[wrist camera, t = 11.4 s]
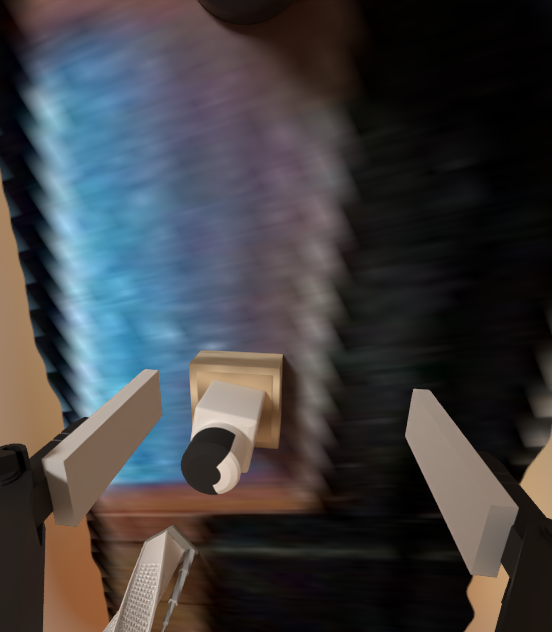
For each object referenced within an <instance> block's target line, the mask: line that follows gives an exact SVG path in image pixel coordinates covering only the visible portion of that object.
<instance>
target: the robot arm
mask: <svg viewBox="0 0 552 632" xmlns="http://www.w3.org/2000/svg"><path fill="white" fill-rule="evenodd" d="M198 1H199V2H200V3H201V4H202V5H203V6H204V7H205V8H206V9H207V10H208V11H209V12H211V13H212V14H213V15H215V16H217V17H218V18H220V19H222V20H225V21H228V22H231V23H236V24H253V23H258V22H262V21H264V20H267V19H269V18H271V17H273V16H275V15H276V14H278V13H279V12H281V11H282V10H283V9H284V8H286V7H287V6H288V5H289V4H290V3H291V2H292V0H198ZM161 416H162V406H161V394H160V382H159V370H148V369H144V370H143V371H142V372H141V373H140V374H139V375H138V376H136V377H135V378H134V379H133V380H132V381H131V382H129V383H128V384H127V385H126V386H125V387H124V388H123V389H121V390H120V391H119V392H118V393H117V394H116V395H115V396H113V397H112V398H111V399H110V400H109V401H108V402H107V403H105V404H104V405H103V406H102V407H101V408H100V409H98V410H97V411H96V412H95V413H94V414H93V415H92V416H90V417H83V418H82V419H80V420H78V421H76V422H74V423H72V424H70V425H69V426H68V427H67V428H66V429H64V430H63V431H62V432H61V434H59V435H57V436H56V437H55V438H54V439H53V441H50V442H49V443H48V444H47V445H46V446H44V447H43V448H42V449H40V450H39V451H38V452H37V453H36V454H34V455H33V456H32V457H31V458H30V459H29V457H28V452H27V448H26V446H25V445H23V444H9V445H4V446H1V447H0V632H43V604H44V567H45V565H44V564H45V530H46V529H45V524H44V521H45V519H46V518H47V517H48V516H49V515H50V514H51V513H52V512H53V514H54V518H55V523H56V524H57V525H65V526H73V527H77V525H78V524H79V523H80V521H81V520H82V519H83V518H84V516H85V515H86V514H87V512H88V511H89V510H90V508H91V507H92V506H93V505H94V503H95V502H96V501H97V499H98V498H99V497H100V496H101V494H102V493H103V492H104V490H105V489H106V488H107V486H108V485H109V484H110V483H111V481H112V480H113V479H114V477H115V476H116V475H117V473H118V472H119V471H120V470H121V468H122V467H123V466H124V464H125V463H126V462H127V460H128V459H129V458H130V457H131V455H132V454H133V453H134V451H135V450H136V449H137V448H138V446H139V445H140V444H141V442H142V441H143V440H144V438H145V437H146V436H147V435H148V433H149V432H150V431H151V429H152V428H153V427H154V425H155V424H156V423H157V422H158V420H159V419H160V418H161ZM405 437H406V439H407V441H408V443H409V445H410V447H411V450H412V452H413V454H414V456H415V458H416V460H417V462H418V464H419V466H420V469H421V471H422V473H423V475H424V477H425V479H426V481H427V483H428V485H429V488H430V490H431V492H432V494H433V496H434V498H435V500H436V502H437V504H438V506H439V509H440V511H441V513H442V515H443V517H444V519H445V521H446V523H447V525H448V528H449V530H450V532H451V534H452V536H453V538H454V540H455V542H456V544H457V547H458V549H459V551H460V553H461V555H462V557H463V559H464V561H465V563H466V566H467V568H468V570H469V572H470V574H471V575H480V576H488V577H497V575H498V571H499V568H500V565H501V563H502V565H503V567H504V568H505V570H506V572H507V574H508V575H509V577H510V578H509V581H508V584H507V587H506V590H505V593H504V596H503V599H502V601H501V603H502V606H501V610H500V614H499V617H498V621H497V625H496V629H495V632H552V519H549V518H546V516H545V515H544V514H543V513H542V511H541V510H540V509H539V508H538V507H537V505H536V504H535V503H534V502H533V501H532V499H531V498H530V497H529V496H528V495H527V493H526V492H525V491H524V490H523V489H522V488H521V486H520V485H518V484H517V481H516V480H515V479H514V478H513V477H512V475H510V473H509V472H508V470H507V469H506V468H505V467H504V466H503V464H502V463H501V462H500V461H499V460H497V459H496V458H495V457H493V456H492V455H491V454H489V453H488V452H484V451H475V449H474V448H473V447H472V446H471V444H470V443H469V442H468V440H467V439H466V438H465V436H464V435H463V434H462V432H461V431H460V430H459V428H458V427H457V426H456V424H455V423H454V422H453V420H452V419H451V418H450V417H449V415H448V414H447V413H446V411H445V410H444V409H443V407H442V406H441V405H440V403H439V402H438V401H437V399H436V398H435V397H434V395H433V394H432V393H431V392H430V390H421V389H413V394H412V400H411V406H410V411H409V417H408V423H407V429H406V434H405Z"/></svg>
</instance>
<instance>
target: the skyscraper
mask: <svg viewBox="0 0 552 632" xmlns="http://www.w3.org/2000/svg"><path fill="white" fill-rule="evenodd" d="M198 552H199V551H198V550H197V549H196V548H195V546H194V545H193V544H192V543H191V542H190V541H189V540H188V539H187V538H186V537H185V536H184V535H183V534H182V533H181V532H180V530H179V529H178V528H177V527H176V526H175V525H172V526H170V527H168V528H167V529H165V530H163V531H161V532H160V533H158V534H156V535H154V536H153V537H151V538H149V539H147V540H146V541H145V543H144V546H143V548H142V551H141V553H140V556H139V558H138V561H137V563H136V566H135V568H134V571H133V574H132V576H131V579H130V582H129V584H128V587H127V590H126V593H125V596H124V598H123V601H122V604H121V607H120V609H119V611H118V612H117V614H116V615H115V616H114V617H113V619H112V620H111V621H110V623H109V624H108V625H107V627H106V628H105V630H104V631H103V632H150V630H151V626H152V622H153V618H154V614H155V609H156V607H157V605H158V603H159V601H160V599H161V597H162V595H163V593H164V591H165V589H166V587H167V585H168V583H169V581H170V579H171V577H172V575H173V573H174V571H175V569H176V567H177V565H178V564H179V563H181V562H183V563H182V565H181V567H180V569H179V574H178V578H177V582H176V585H175V587H174V589H173V592H172V594H171V596H170V598H169V600H168V603H169V608H168V612H167V614H166V616H165V619H164V621H163V629H162V631H161V632H164V629H165V627H166V626H167V625H168V623H169V620H170V616H171V613H172V611H173V608H174V607H175V606H177V605H178V602H179V598H180V594H181V591H182V587H183V585H184V583H185V580H186V578H187V576H188V575H189V572H190V568H191V564H192V561H193V559H194V557H195V555H196V554H198Z"/></svg>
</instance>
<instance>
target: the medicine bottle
mask: <svg viewBox="0 0 552 632" xmlns="http://www.w3.org/2000/svg"><path fill="white" fill-rule="evenodd" d="M264 398H265V391H263V390H259V389H254V388H250V387H245V386H241V385H236V384H232V383H227V382H223V381H218V380H213V381H212V383H211V384H210V386H209V387H208V389H207V391H206V392H205V394H204V395H203V397H202V398H201V400H200V402H199V403H198V405H197V406H196V408H195V414H194V421H193V428H192V435H191V442H190V444H189V446H188V448H187V449H186V451H185V453H184V455H183V457H182V460H181V470H182V473H183V476H184V478H185V479H186V481H187V482H188V483H189V485H190V486H192V487H193V488H194V489H196V490H197V491H199V492H202V493H205V494H210V495H217V494H222V493H225V492H227V491H229V490H231V489H232V488H233V487H235V485H236V484H237V483H238V481H239V479H240V475H241V472H243V473H247V472H248V469H249V465H250V461H251V457H252V453H253V449H254V445H255V440H256V436H257V432H258V427H259V422H260V417H261V412H262V407H263V403H264Z"/></svg>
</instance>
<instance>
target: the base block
mask: <svg viewBox="0 0 552 632" xmlns="http://www.w3.org/2000/svg"><path fill="white" fill-rule="evenodd" d="M282 361H283V354H268V353H248V352H228V351H209V350H201V351H200V352H199V353H198V355H197V356H196V357H195V358H194V359H193V360H192V361H191V362H190V363H189V370H190V388H191V405H192V423H193V421H194V414H195V408H196V406H197V405H198V403H199V402H200V400H201V398H202V397H203V395H204V394H205V392H206V391H207V389H208V387H209V386H210V384H211V383H212V381H213V380H218V381H223V382H227V383H232V384H236V385H241V386H245V387H250V388H254V389H259V390H263V391H265V398H264V403H263V407H262V412H261V417H260V422H259V427H258V432H257V436H256V440H255V445H254V447H260V448H273V449H278V446H279V438H280V430H281V400H282Z"/></svg>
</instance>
